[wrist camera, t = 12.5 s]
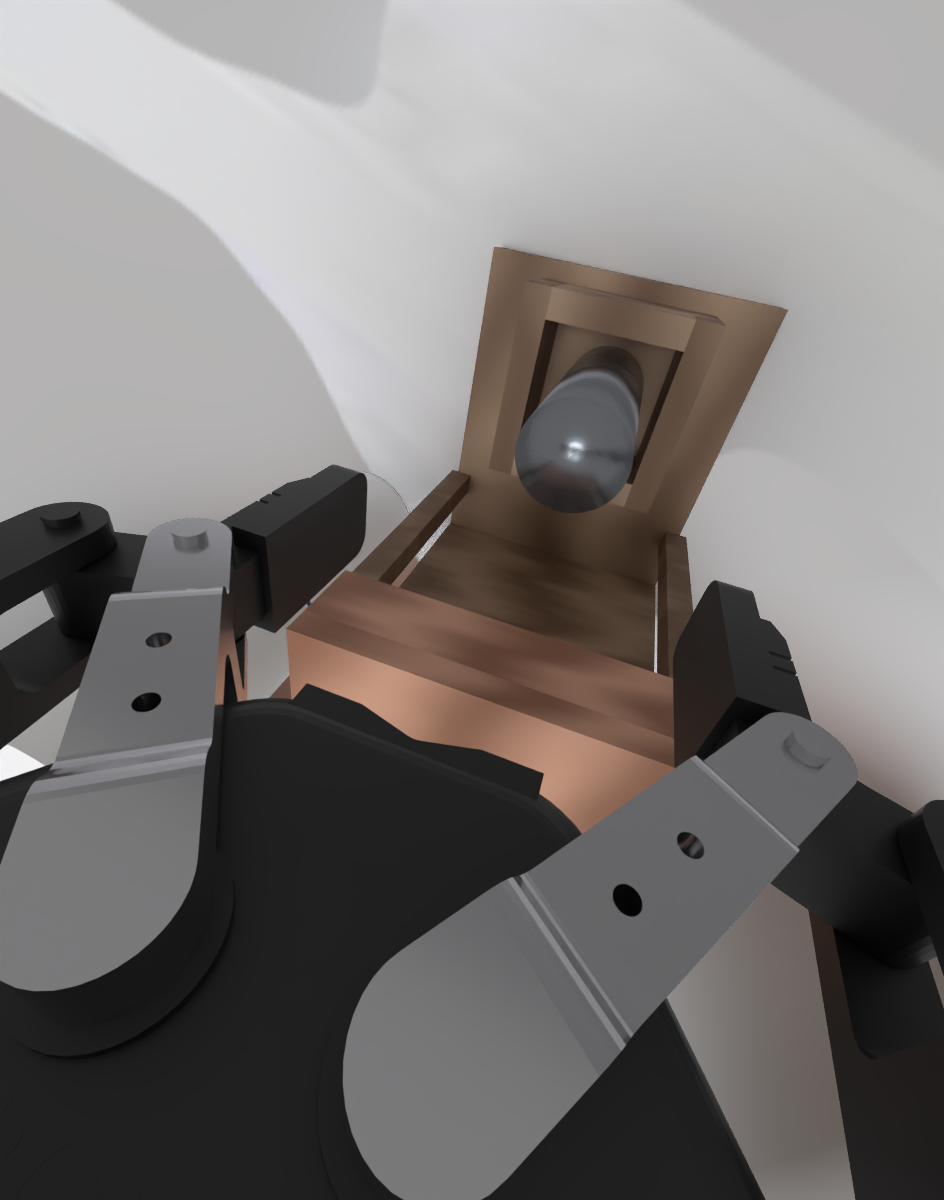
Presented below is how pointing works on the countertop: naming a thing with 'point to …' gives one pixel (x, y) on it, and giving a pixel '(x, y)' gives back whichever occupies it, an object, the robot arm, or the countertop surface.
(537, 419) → the steel peg
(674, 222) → the countertop surface
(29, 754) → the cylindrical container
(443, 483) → the wooden frame stand
